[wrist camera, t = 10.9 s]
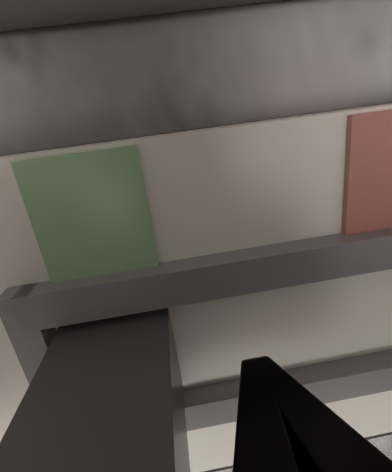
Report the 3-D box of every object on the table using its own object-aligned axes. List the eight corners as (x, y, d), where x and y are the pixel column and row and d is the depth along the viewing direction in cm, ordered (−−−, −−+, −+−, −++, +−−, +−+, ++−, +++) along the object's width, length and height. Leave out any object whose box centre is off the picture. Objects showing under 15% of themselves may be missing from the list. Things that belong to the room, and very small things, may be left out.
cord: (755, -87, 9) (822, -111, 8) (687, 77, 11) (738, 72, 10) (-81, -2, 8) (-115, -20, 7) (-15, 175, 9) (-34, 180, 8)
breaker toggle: (167, 305, 8) (176, 515, 4) (182, 384, 10) (203, 623, 5) (60, 323, 8) (-64, 568, 4) (87, 402, 9) (18, 668, 5)
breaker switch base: (499, 88, 10) (642, 71, 7) (440, 364, 14) (514, 426, 11) (-90, 168, 9) (-218, 189, 6) (36, 443, 13) (0, 537, 10)
